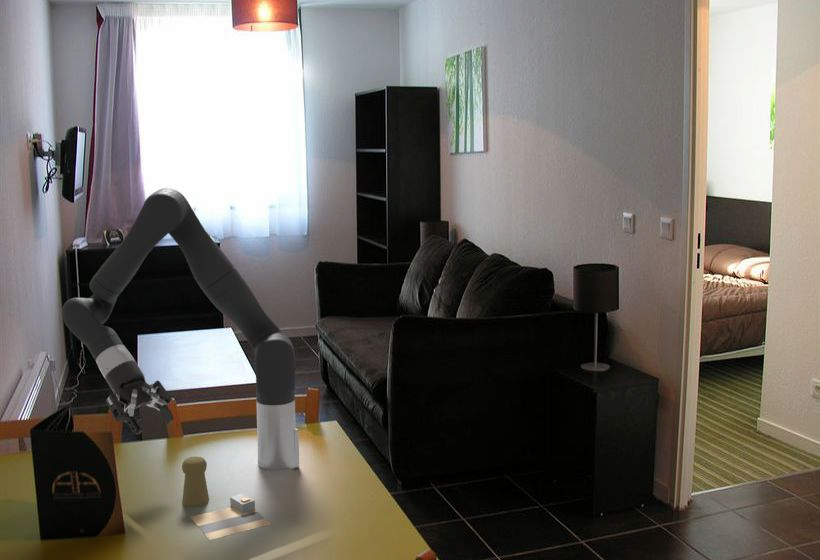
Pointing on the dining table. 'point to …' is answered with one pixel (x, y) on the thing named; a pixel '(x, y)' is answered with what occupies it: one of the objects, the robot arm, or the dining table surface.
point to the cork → (195, 482)
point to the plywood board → (228, 522)
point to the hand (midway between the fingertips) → (155, 427)
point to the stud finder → (242, 503)
